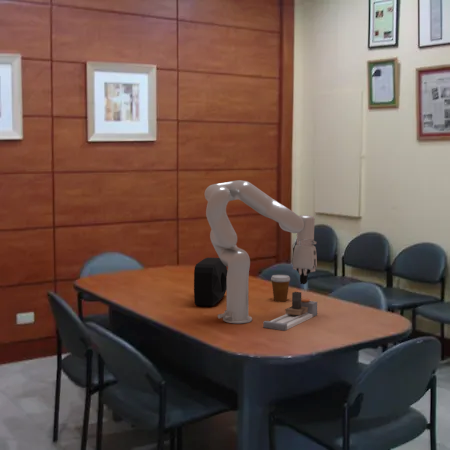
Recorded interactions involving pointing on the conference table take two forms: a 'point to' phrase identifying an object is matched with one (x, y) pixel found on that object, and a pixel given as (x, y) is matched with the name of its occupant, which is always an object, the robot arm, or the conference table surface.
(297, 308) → the carriage
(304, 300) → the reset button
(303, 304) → the rail track
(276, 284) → the disposable coffee cup
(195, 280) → the black hard case
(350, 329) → the conference table surface
